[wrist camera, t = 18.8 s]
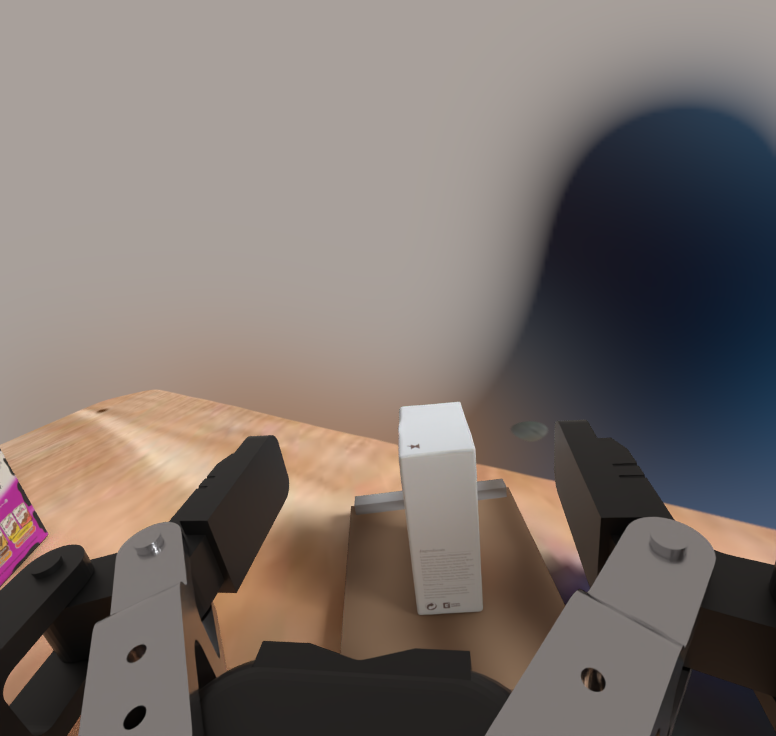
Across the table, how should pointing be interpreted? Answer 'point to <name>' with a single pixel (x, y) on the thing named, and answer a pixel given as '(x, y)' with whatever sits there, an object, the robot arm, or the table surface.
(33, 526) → the candy bar box
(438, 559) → the skincare box
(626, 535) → the robot arm
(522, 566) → the walnut riser
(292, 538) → the table surface
